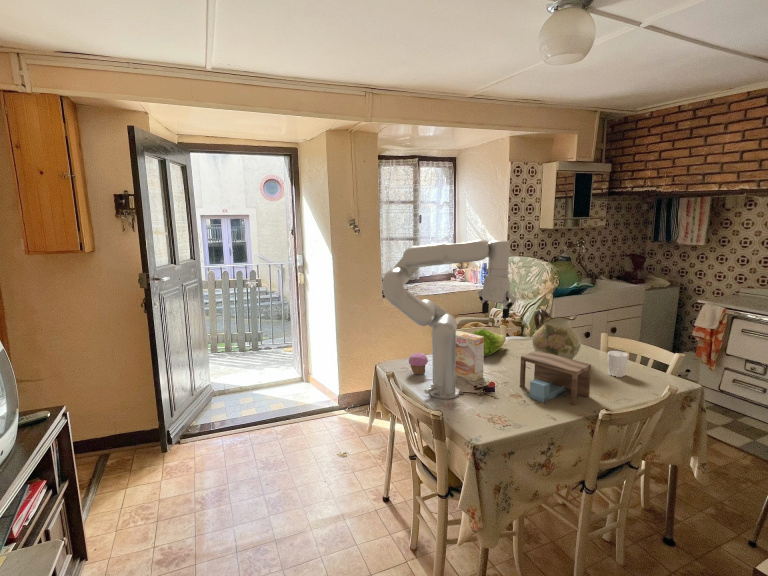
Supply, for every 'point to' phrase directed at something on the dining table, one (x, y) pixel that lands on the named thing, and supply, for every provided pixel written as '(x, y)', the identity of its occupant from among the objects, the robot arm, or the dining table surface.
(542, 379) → the shelf
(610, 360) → the white cup
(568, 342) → the pitcher
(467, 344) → the coffeecake box
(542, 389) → the light blue channel block
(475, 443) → the dining table surface
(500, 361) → the dining table surface
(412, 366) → the cupcake
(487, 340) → the lettuce
